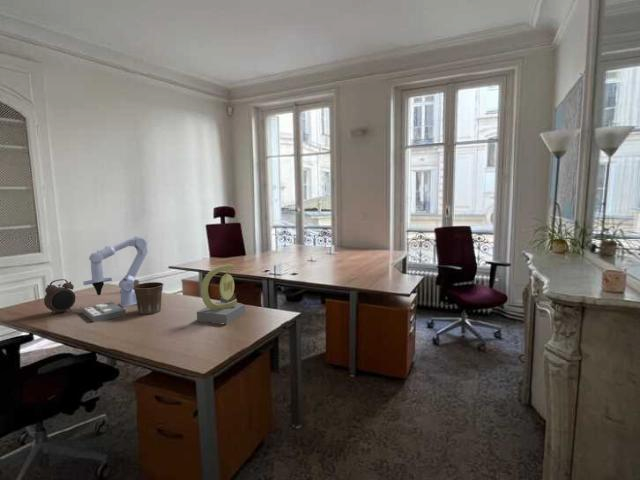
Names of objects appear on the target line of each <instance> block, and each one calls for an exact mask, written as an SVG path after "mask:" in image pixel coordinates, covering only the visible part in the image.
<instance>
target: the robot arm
mask: <svg viewBox="0 0 640 480" xmlns="http://www.w3.org/2000/svg"><path fill="white" fill-rule="evenodd" d="M147 245H148V243H147V241H146V238H143V237H139V236H134V237H129V238H128V239H126V240H124V241H121V242H120V243H118V244H116V245H115V246H114V245H113V246H105V247H104V248H103V249H100V250H96V252H92V253H91V254H90V255H89V257H88V260H89V261H90V270H91V271H90V272H91V279H90V280H84V281H83V282H82V283H83V286H87V285H92V286H93V289H94V290H95V291H96V295H97V296H101V294H102V290H103V287H104V285H105V283H106V282H113V278H112V277H105V278H104V271H103V260H105V259H107V258H109V257H112V256H114V255H115V253H116V252H118V251H121V250H123V249H125V248H127V247H133V248H135V249H136V251H137V253H136V255H135V258H133V261H132V263H131V265H130V267H129V268H128V271H127V273H126V274H125V275H124V276H123V278H122V279H121V280H120V281H119V282H118V287H119V289H120V290H119V294H120V295H119V296H120V303H118V306H120V307H121V308H124V307H127V306H132V305H137V300H136V294H135V292H134V288H133V286H134V284H135V280H136V279H135V278H136V276H137V274H138V272H139V271H140V268H141V267H142V265H143V263H144V260H145V258H146V256H147V254H148V246H147Z"/></svg>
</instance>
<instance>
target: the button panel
mask: <svg viewBox="0 0 640 480" xmlns="http://www.w3.org/2000/svg"><path fill="white" fill-rule="evenodd" d="M103 304H104V305H105V304H106V305H108V309H112V312H108V313H103V311H102V310H101V311H100V310H99V308H96V307H95V305H89V306H87V307H86V306H85V307H81V313H82V314H83V315H85V316H86V317H87V318H88V319H89V320H91V322H93V323H97V322H101V321H105V320H111V319H114V318H118V317H124V316H126V315H127V311H126V309H125V308H124V307H122V306H121V305H119V304H116V303H114V302H113V301H110V302H107V303H105V302H104V303H103Z"/></svg>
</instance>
